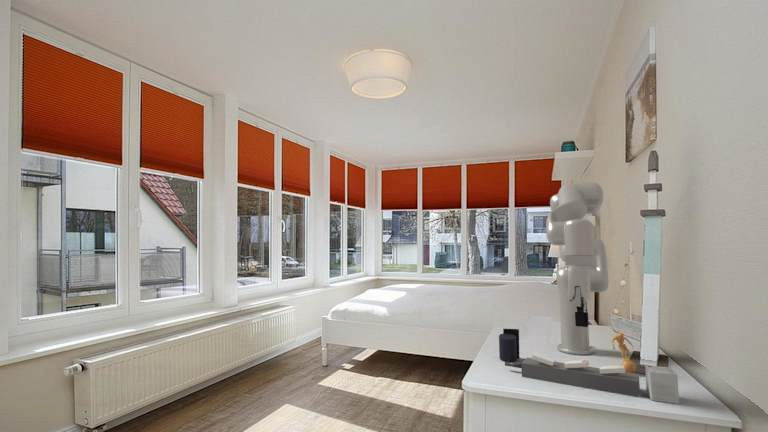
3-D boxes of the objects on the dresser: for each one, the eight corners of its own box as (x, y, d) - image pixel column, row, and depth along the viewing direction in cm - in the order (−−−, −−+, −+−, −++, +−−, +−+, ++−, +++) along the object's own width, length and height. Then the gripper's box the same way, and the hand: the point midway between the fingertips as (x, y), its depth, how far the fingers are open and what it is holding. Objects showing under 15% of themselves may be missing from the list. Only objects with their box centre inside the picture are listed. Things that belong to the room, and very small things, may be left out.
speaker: (503, 354, 143) (503, 326, 143) (519, 357, 140) (519, 328, 140) (496, 361, 137) (496, 332, 137) (513, 365, 134) (513, 335, 133)
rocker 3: (601, 370, 112) (600, 366, 112) (625, 369, 109) (624, 365, 109) (600, 373, 109) (599, 369, 110) (625, 372, 106) (623, 368, 107)
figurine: (624, 376, 119) (622, 336, 120) (607, 370, 125) (605, 332, 126) (644, 373, 122) (642, 334, 123) (626, 368, 128) (624, 330, 129)
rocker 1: (534, 356, 122) (534, 352, 122) (554, 363, 119) (555, 359, 119) (531, 358, 120) (532, 354, 120) (552, 366, 116) (553, 362, 116)
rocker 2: (566, 365, 117) (565, 360, 117) (589, 364, 114) (587, 359, 114) (565, 368, 114) (563, 363, 115) (587, 367, 111) (586, 362, 112)
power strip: (508, 367, 130) (508, 353, 130) (639, 388, 110) (638, 372, 110) (502, 373, 124) (501, 358, 124) (639, 397, 104) (638, 380, 104)
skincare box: (679, 404, 99) (678, 374, 100) (651, 400, 101) (649, 371, 102) (673, 395, 105) (671, 367, 105) (645, 392, 107) (644, 364, 107)
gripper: (569, 261, 124) (572, 321, 122) (560, 262, 112) (563, 328, 110) (596, 261, 120) (599, 324, 118) (590, 262, 108) (593, 331, 106)
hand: (582, 326), depth 114 cm, fingers closed
